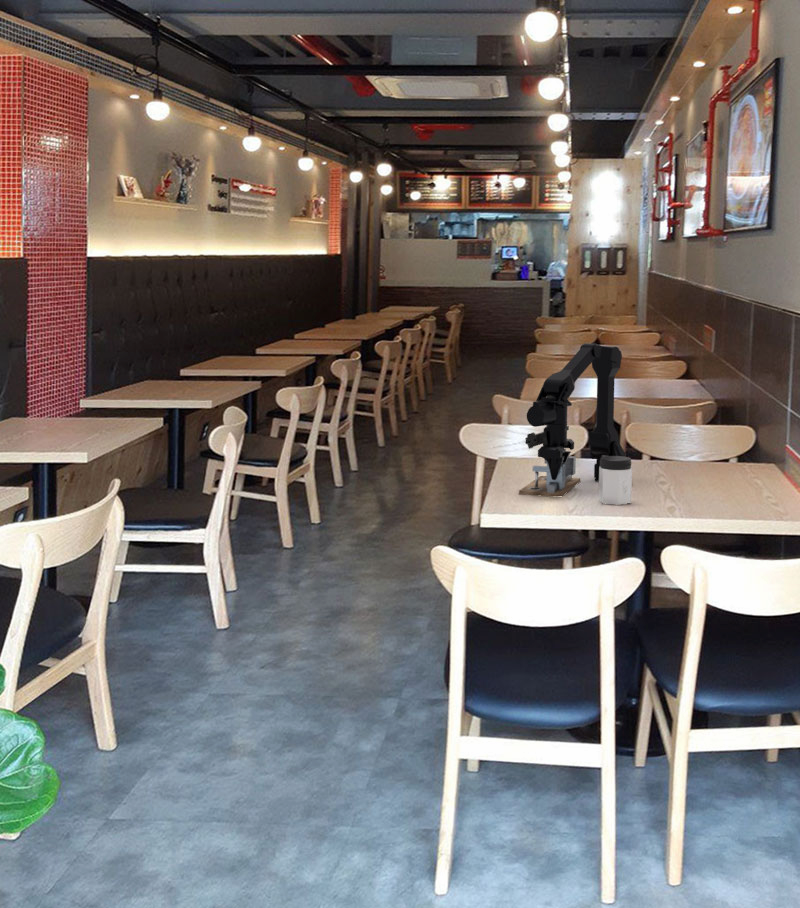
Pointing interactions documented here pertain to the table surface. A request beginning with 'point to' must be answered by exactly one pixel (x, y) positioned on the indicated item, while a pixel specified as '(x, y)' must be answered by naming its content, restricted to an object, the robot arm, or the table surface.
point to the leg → (559, 478)
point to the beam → (569, 471)
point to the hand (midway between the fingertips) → (555, 478)
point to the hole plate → (541, 488)
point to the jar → (615, 480)
